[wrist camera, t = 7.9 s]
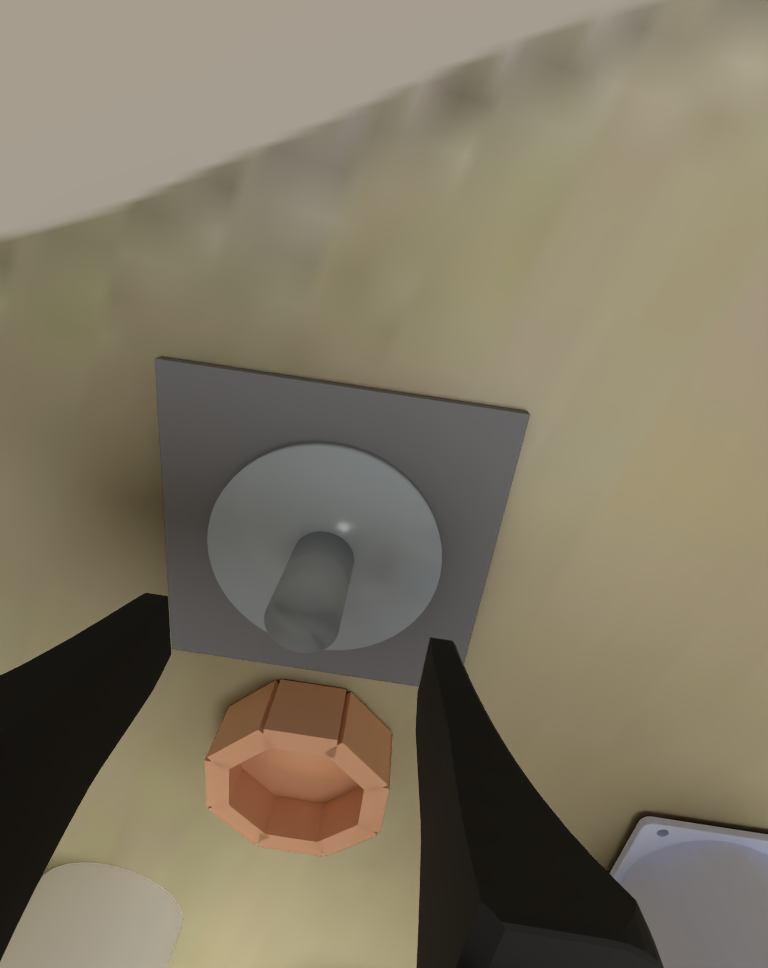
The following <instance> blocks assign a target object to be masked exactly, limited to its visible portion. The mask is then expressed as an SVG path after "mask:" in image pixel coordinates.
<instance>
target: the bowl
mask: <svg viewBox="0 0 768 968" xmlns="http://www.w3.org/2000/svg"><path fill="white" fill-rule="evenodd" d="M391 750H392V735H391V731H390V730H389V729H388V728H387V727H386V726H385V725H384V724H383V723H382V722H381V721H380V720H379V719H378V718H377V717H376V716H375V715H374V714H373V713H372V712H371V711H370V710H369V709H368V708H367V707H366V706H365V705H364V704H363V703H362V702H361V701H360V700H359V699H358V698H357V697H356V696H355V695H354V694H353V693H352V692H349V693H347V694H346V689H342V688H335V687H328V686H322V685H315V684H309V683H302V682H296V681H289V680H283V679H281V680H280V683H278V682H277V681H276V680H275V681H273V682H271V683H270V684H268V685H266V686H264V687H263V688H261V689H259V690H257V691H256V692H254V693H252V694H250V695H249V696H247V697H245V698H243V699H242V700H240V701H238V702H236V703H235V704H233V705H231V706H229V708H228V710H227V711H226V714H225V716H224V718H223V720H222V723H221V725H220V727H219V730H218V732H217V734H216V736H215V739H214V741H213V743H212V745H211V748H210V750H209V752H208V755H207V757H206V759H205V787H206V806H209V808H208V809H209V810H210V811H211V812H212V813H214V814H215V815H216V816H218V817H219V818H220V819H221V820H223V821H224V822H225V823H226V824H228V825H229V826H230V827H232V828H233V829H234V830H235V831H237V832H238V833H239V834H241V835H242V836H243V837H244V838H246V839H247V840H248V841H249V842H251V843H252V844H253V845H254V844H257V843H258V847H264V848H270V849H276V850H283V851H289V852H296V853H302V854H309V855H315V856H322V853H323V854H325V855H326V856H328V855H330V854H333V853H335V852H338V851H340V850H343V849H345V848H347V847H350V846H352V845H355V844H357V843H360V842H362V841H365V840H367V839H369V838H372V837H374V836H377V833H378V832H379V833H380V830H381V826H382V821H383V816H384V811H385V807H386V802H387V797H388V793H389V786H390V768H391Z"/></svg>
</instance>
